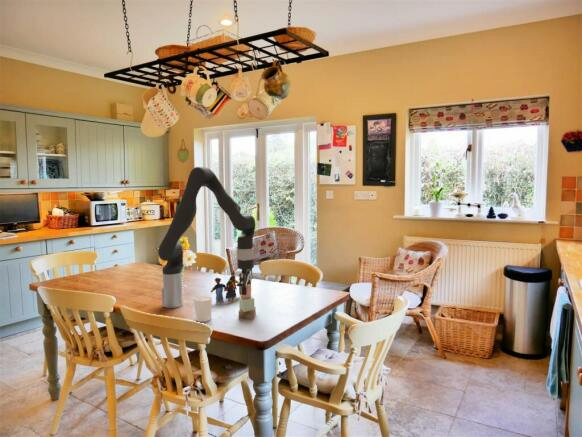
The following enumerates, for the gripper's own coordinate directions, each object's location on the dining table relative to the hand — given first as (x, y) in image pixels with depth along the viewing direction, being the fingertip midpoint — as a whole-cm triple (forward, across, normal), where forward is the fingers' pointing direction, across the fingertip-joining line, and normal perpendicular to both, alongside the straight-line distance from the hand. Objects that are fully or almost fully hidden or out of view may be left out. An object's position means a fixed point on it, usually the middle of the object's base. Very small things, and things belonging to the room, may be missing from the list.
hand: (246, 292), depth 194 cm
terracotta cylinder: (+3, 0, 0) cm, 3 cm away
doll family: (+12, -25, -16) cm, 32 cm away
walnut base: (+12, 0, 0) cm, 12 cm away
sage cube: (+8, 0, 0) cm, 8 cm away
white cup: (+12, +6, -19) cm, 23 cm away
